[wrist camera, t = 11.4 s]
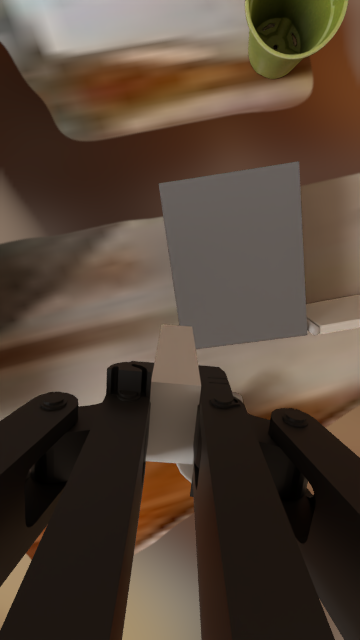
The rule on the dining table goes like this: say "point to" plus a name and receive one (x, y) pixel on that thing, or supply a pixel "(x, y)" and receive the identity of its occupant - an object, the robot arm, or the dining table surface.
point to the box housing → (237, 254)
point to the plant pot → (289, 31)
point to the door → (333, 315)
